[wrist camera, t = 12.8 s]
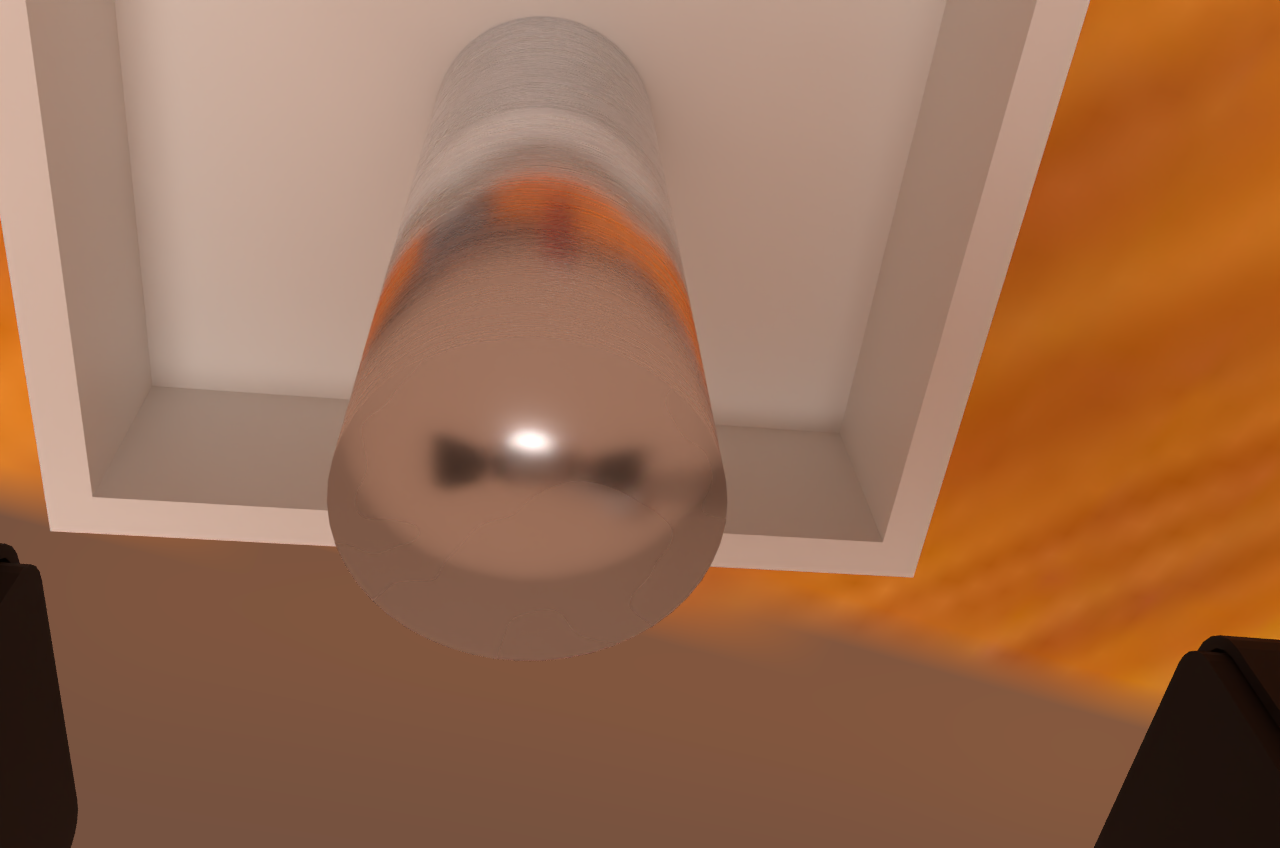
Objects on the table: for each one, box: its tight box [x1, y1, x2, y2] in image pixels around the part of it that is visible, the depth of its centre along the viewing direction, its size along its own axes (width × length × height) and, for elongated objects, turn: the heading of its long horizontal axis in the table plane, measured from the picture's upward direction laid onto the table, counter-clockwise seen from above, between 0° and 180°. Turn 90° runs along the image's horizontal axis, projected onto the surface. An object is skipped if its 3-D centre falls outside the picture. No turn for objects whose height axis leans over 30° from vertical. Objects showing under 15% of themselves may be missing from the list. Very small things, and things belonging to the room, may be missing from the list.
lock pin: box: [327, 16, 728, 661], centre depth 17 cm, size 4×4×12 cm
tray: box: [0, 0, 1090, 577], centre depth 21 cm, size 16×14×4 cm
